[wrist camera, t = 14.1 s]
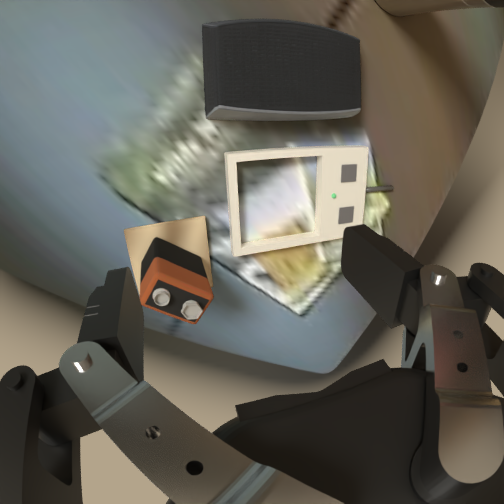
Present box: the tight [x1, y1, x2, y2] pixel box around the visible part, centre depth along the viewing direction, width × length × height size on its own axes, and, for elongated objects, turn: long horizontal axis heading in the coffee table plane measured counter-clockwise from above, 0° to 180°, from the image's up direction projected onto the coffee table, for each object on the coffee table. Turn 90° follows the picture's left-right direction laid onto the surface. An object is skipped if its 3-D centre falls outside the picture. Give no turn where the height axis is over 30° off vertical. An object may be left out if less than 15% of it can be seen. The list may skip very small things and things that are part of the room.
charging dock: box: [224, 146, 394, 257], centre depth 40 cm, size 26×13×2 cm, turn 92°
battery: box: [140, 237, 214, 324], centre depth 34 cm, size 4×7×10 cm, turn 55°
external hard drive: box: [202, 19, 361, 121], centre depth 31 cm, size 13×19×4 cm
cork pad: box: [124, 216, 213, 295], centre depth 39 cm, size 10×10×1 cm
